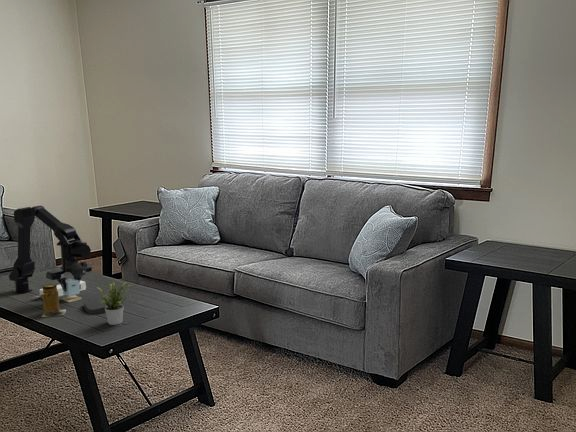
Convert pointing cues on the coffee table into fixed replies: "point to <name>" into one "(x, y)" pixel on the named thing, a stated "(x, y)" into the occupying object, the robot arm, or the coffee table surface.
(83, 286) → the power strip
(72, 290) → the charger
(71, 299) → the board
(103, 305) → the media streaming box
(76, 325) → the coffee table surface
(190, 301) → the coffee table surface
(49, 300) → the condiment
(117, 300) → the house plant
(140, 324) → the coffee table surface
